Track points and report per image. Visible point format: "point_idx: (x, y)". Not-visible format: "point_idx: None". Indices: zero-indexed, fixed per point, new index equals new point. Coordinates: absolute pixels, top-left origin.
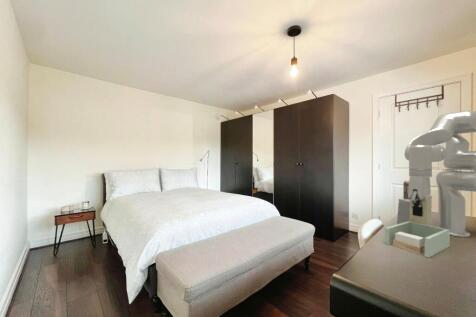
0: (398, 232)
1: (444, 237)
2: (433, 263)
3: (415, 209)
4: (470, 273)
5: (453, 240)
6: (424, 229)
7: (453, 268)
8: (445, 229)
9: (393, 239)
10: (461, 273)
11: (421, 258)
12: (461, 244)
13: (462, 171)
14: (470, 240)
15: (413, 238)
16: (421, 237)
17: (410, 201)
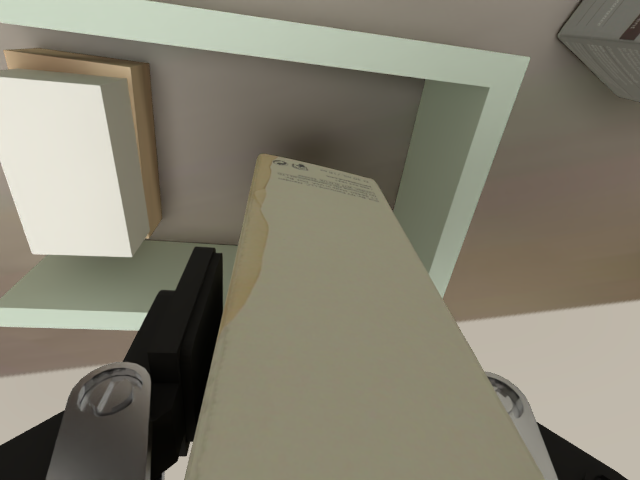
0: (45, 85)
1: None
2: (16, 279)
3: (136, 350)
4: (74, 366)
5: (543, 259)
6: (433, 193)
7: (56, 331)
8: None
9: (15, 51)
10: (33, 353)
11: (17, 232)
12: (486, 292)
13: None
14: (602, 302)
15: (21, 219)
16: (116, 247)
17: (209, 377)
